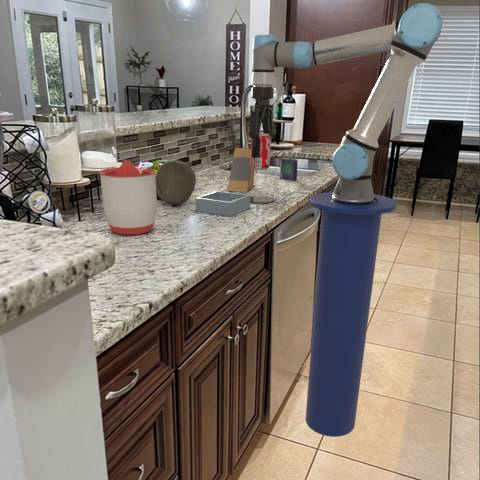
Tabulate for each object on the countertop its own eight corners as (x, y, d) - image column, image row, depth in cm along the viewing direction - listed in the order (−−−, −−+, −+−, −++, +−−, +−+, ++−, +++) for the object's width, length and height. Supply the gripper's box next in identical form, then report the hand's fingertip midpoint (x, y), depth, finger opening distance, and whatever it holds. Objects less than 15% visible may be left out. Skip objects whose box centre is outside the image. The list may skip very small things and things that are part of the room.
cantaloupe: (196, 209, 171) (195, 164, 165) (154, 209, 170) (151, 164, 164) (196, 200, 184) (195, 158, 178) (157, 200, 183) (155, 158, 177)
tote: (249, 208, 174) (250, 195, 172) (230, 216, 163) (230, 202, 161) (216, 203, 180) (216, 190, 178) (195, 211, 169) (195, 197, 167)
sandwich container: (226, 191, 200) (226, 152, 194) (234, 184, 214) (234, 147, 208) (247, 192, 199) (247, 153, 193) (254, 185, 212) (255, 148, 206)
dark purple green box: (278, 178, 229) (279, 154, 224) (282, 177, 231) (283, 153, 226) (294, 181, 223) (296, 156, 219) (298, 180, 225) (300, 155, 221)
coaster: (279, 199, 188) (279, 198, 188) (266, 204, 179) (266, 203, 179) (253, 195, 192) (253, 194, 192) (239, 201, 184) (239, 200, 183)
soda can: (267, 167, 185) (268, 133, 180) (271, 170, 179) (273, 135, 174) (248, 167, 184) (249, 133, 179) (252, 170, 177) (253, 135, 173)
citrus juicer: (169, 224, 153) (166, 156, 145) (146, 239, 137) (142, 165, 129) (121, 220, 156) (116, 154, 148) (94, 235, 140) (86, 162, 133)
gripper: (265, 86, 180) (263, 152, 189) (239, 86, 164) (238, 158, 173) (284, 86, 177) (281, 153, 186) (259, 86, 160) (257, 160, 170)
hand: (260, 156), depth 179 cm, fingers closed on soda can, 7 cm apart
